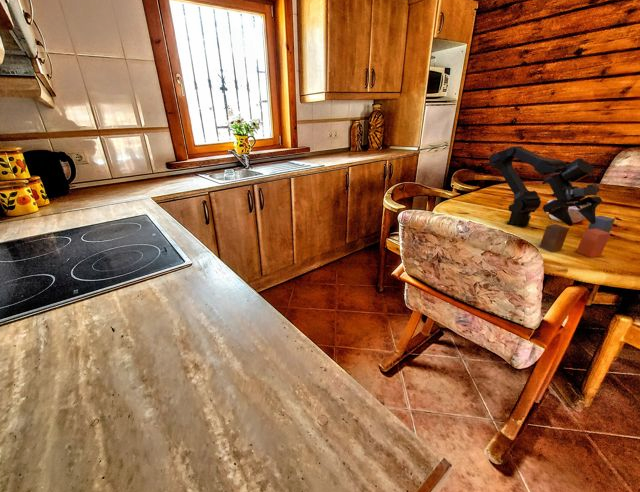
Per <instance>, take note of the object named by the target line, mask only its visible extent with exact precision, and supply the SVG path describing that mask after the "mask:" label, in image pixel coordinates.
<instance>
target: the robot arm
mask: <svg viewBox="0 0 640 492" xmlns="http://www.w3.org/2000/svg"><path fill="white" fill-rule="evenodd" d="M515 159H518V160H519V161H521V162H523V163H525V164H528V165H529V166H531V167H533V169H534V171H536V173H538V174H539V175H541V176H546V177H544V178H543V181H542V182H541V184H542V185H548V186H549V187H550V189H551V191H552V193H551V197H553V198H555V199H557V200H553V199H552V200H553V201H551V202H549V203H548V202H547V203H545V204H543V205H542V211H543V213H546V212H549V213H546V214H547V215H549V214H551V215H553V216H554V217H556V218H558V219H559V220H561V221H563V222H562V223H563V224H565V225H567V226H568V227H572V226H573V227H574V223H573V222H572V220H571V217H570V215H569V213H568V209H569V207H572V206H576V207H577V208H578V209H580V210H578V211H579V212H580V213H581V214H582V215H583V216H584V217H585V218H586V219H585V220H587V221H588V223H589V224H590V223H591V224H595V223H596V217H595V216H596V209H597V208H598V206H600V204H601V203H603V199H602V198H601V196H598V193H599V192H600V191H601V188H600V187H599V186H598V184H597V183H593V184H592V183H591V184H587V185H586V186H583V187H579V186H578V185H574V186H573V184H572V182H573V183H575V182H578V181H580V180H581V179H583V178H585V177H587V176H588V175H591V174H592V173H594V171H595V167H594V165H593V164H591V163H590V162H588V161H586V160H584V158H581V157H580V158H576V159H574V160H573V161H571V162H570V163H568V164H567V163H565V161H564V160H562V159H557V158H554V157H546V156H542V155H540V154H538V153H535V152H534V151H531V150H529V149H526V148H525V147H523V146H521V145H518V146H517V145H515V146H510V147H508V148H506V149H503V150H501V151H498V152H493V153H492V154H491V155H490V156H489V158H488V163H489V164H490V165H491V167H492V168H493V169H495V170H497V171H499V172H500V173H501V175H502V177H503V179H504V180H505V182H506V184H507V185H508V187H509V188H510V190H511V192H512V194H513V195H514V196H513V203H511V204H510V205H508V212H510V216H509V219H508V221H507V223H506V225H511V226H515V227H520V228H525V227H527V226H528V225H529V224H530V221H531V218H532V215H531V213H536V211H537V209H539V208H540V206H541V204H542V201H541V197H540V196H539V194H538V192H537V191H536V190H528V188H527V186H526V185H525V183H524V182H523V181H522V179H521V177H520V176H519V174H518V173H517V171H516V169H515V168H514V166H513V163H514V160H515ZM547 176H548V177H547ZM574 203H575V204H574Z"/></svg>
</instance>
